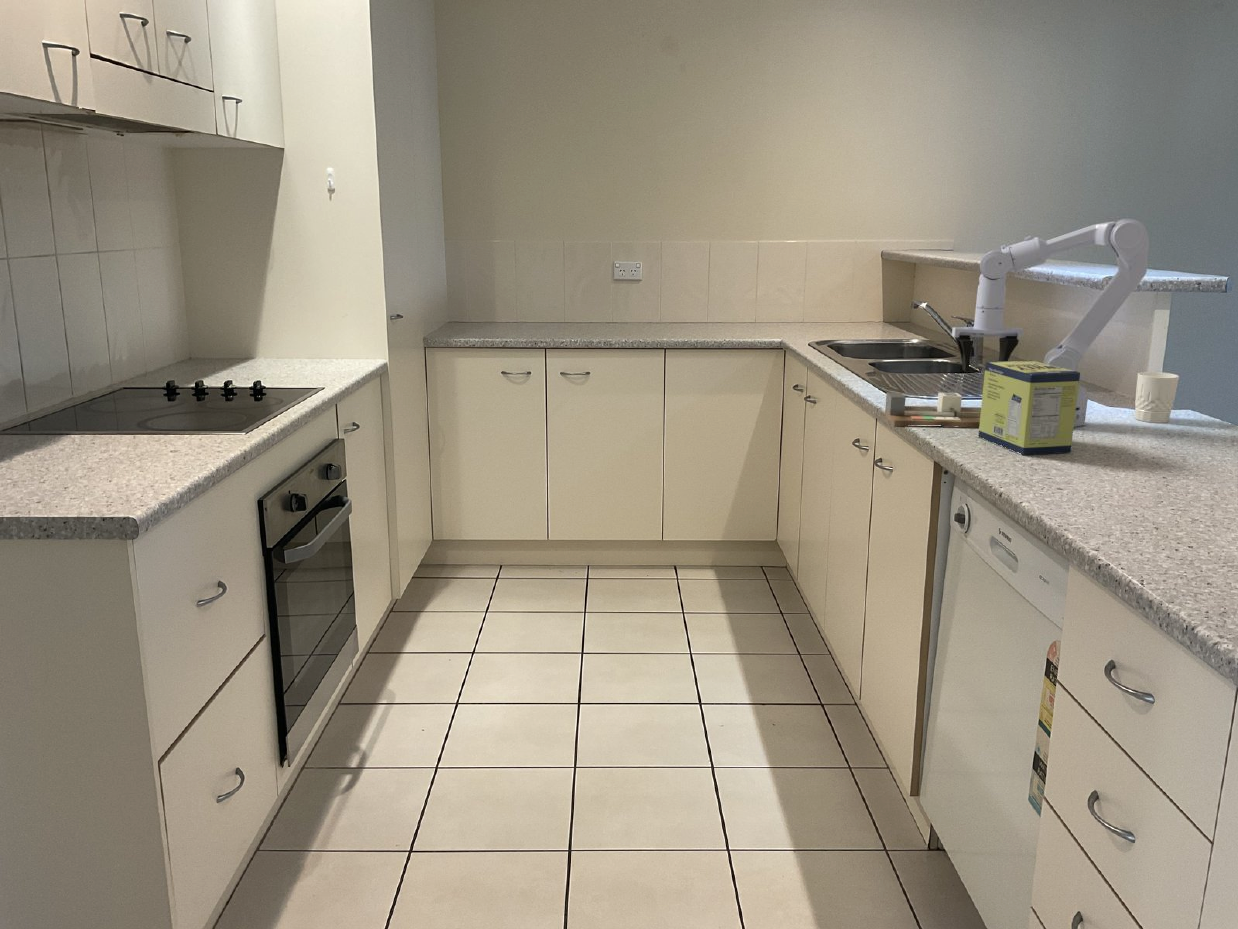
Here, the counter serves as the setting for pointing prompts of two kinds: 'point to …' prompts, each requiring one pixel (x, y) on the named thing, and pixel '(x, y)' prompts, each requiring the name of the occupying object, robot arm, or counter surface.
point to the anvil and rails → (922, 408)
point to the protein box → (1029, 406)
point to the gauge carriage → (949, 402)
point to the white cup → (1155, 396)
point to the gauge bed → (933, 421)
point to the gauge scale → (935, 418)
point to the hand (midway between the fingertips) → (983, 370)
